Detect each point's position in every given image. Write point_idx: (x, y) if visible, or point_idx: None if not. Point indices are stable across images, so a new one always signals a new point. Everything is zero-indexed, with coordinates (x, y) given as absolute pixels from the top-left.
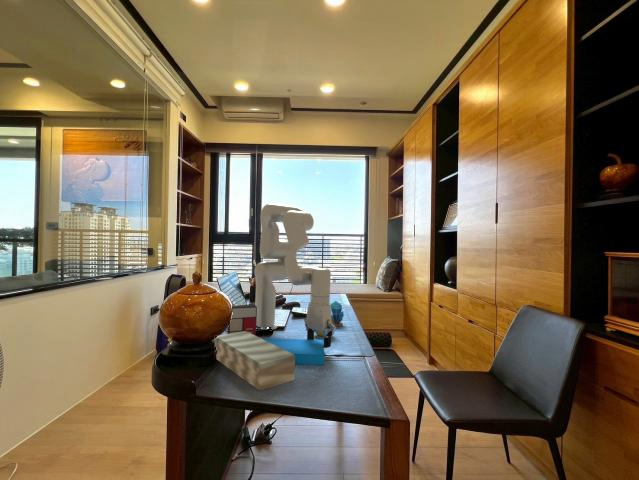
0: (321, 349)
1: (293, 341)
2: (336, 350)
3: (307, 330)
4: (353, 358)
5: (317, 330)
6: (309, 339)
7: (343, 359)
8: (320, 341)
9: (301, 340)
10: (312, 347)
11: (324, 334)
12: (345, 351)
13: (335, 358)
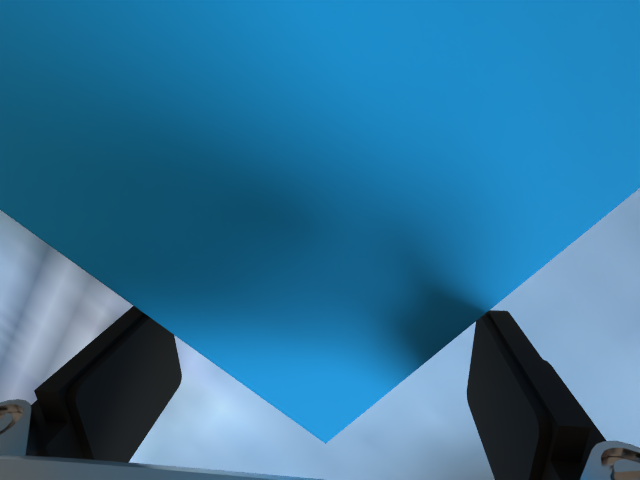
0: (7, 177)
1: (594, 15)
2: (237, 420)
3: (618, 460)
4: (32, 388)
5: (76, 462)
6: (459, 330)
7: (38, 320)
8: (291, 382)
9: (517, 196)
10: (123, 119)
11: (18, 448)
12: (182, 450)
13: (80, 286)
